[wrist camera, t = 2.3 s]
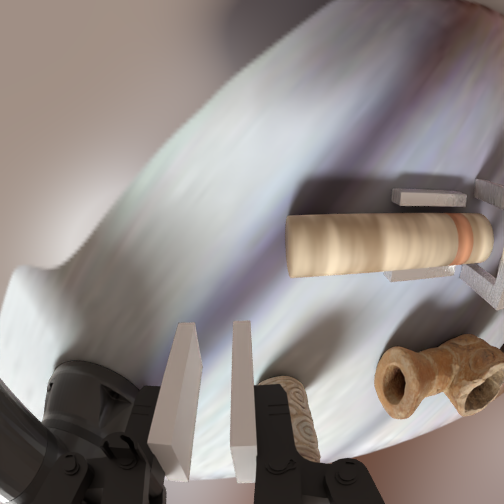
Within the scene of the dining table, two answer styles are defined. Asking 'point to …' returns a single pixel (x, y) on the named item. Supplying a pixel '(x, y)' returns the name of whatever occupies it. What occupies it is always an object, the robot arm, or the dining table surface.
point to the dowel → (384, 242)
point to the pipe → (440, 376)
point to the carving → (299, 417)
